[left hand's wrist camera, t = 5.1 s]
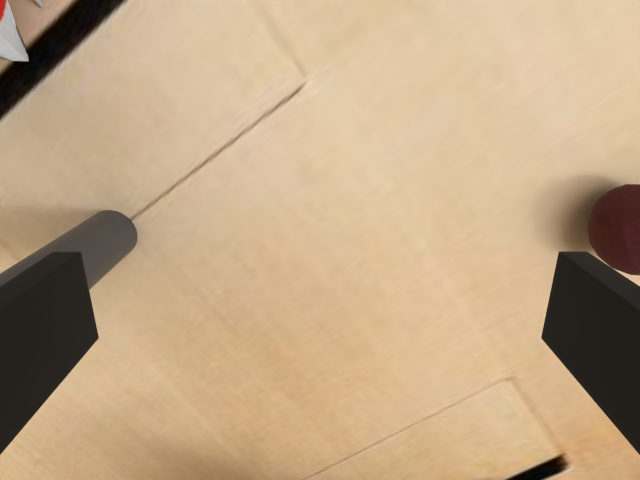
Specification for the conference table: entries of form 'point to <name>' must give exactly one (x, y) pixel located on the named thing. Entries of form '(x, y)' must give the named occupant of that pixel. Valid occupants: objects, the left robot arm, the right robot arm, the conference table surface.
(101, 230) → the dark grey cylinder
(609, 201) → the dark maroon ball
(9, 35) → the fish
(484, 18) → the conference table surface
